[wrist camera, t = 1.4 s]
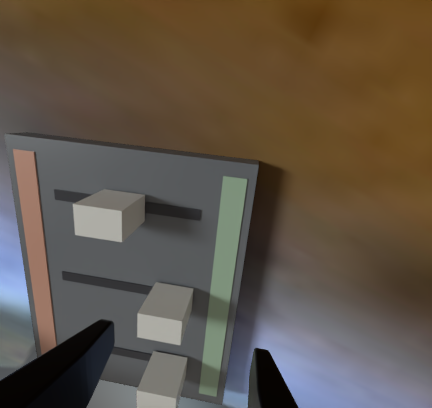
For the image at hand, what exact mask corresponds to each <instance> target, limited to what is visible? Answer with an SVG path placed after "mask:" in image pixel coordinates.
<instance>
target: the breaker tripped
mask: <svg viewBox="0 0 432 408" xmlns="http://www.w3.org/2000/svg"><path fill="white" fill-rule="evenodd" d="M73 214H74V227H75V235H78V236H85V237H91V238H97V239H104V240H110V241H116V242H123V241H124V240H125V239H126V238H127V237H128V236H129V235H130V234H131V233H133V232H134V231H135V230H136V229H137V228H138V227H139V226H140V225H141V224H142V223H143V222H144V221H145V195H143V194H136V193H129V192H122V191H114V190H107V189H104V190H102V191H99V192H97V193H95V194H93V195H91V196H89V197H87V198H84V199H82V200H80V201H78V202H76V203H74V204H73Z"/></svg>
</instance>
